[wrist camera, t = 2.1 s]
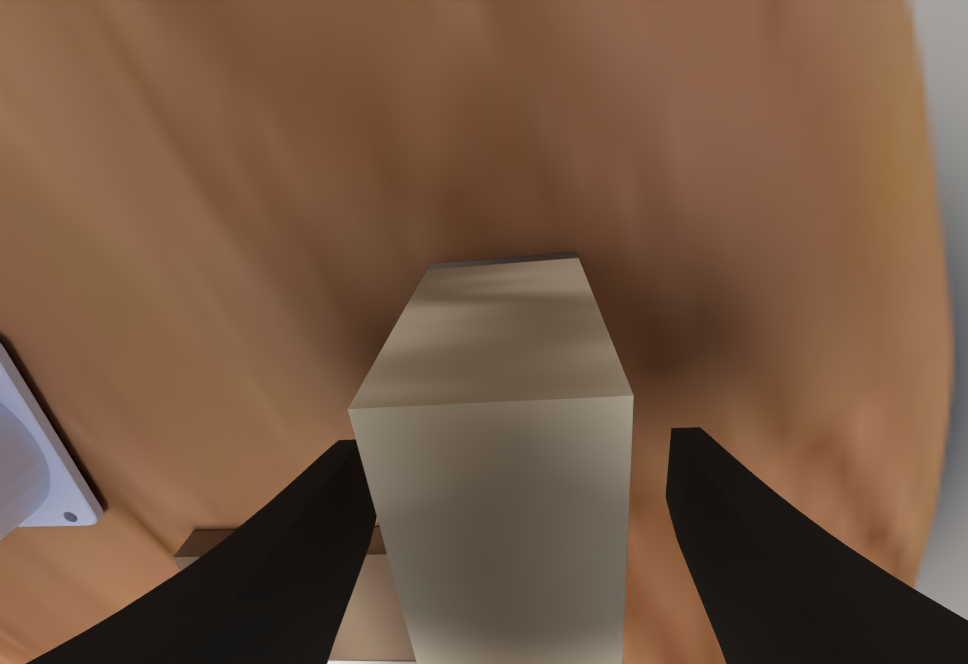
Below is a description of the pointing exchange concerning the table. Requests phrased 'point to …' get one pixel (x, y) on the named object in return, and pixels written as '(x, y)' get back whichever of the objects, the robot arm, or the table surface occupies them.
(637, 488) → the table surface
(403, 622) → the walnut board
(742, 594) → the robot arm
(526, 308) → the block
